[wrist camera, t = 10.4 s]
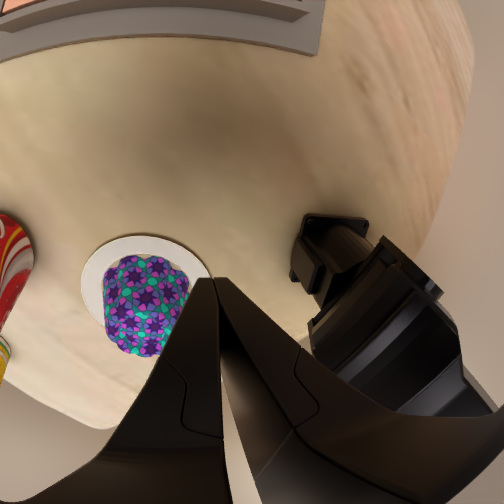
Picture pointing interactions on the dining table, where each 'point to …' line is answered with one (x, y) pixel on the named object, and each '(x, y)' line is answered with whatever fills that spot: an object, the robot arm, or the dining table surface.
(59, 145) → the dining table surface
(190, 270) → the pudding
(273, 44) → the tile board
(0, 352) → the supplement bottle
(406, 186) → the dining table surface
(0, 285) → the soda can
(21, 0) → the one dot tile
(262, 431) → the robot arm
